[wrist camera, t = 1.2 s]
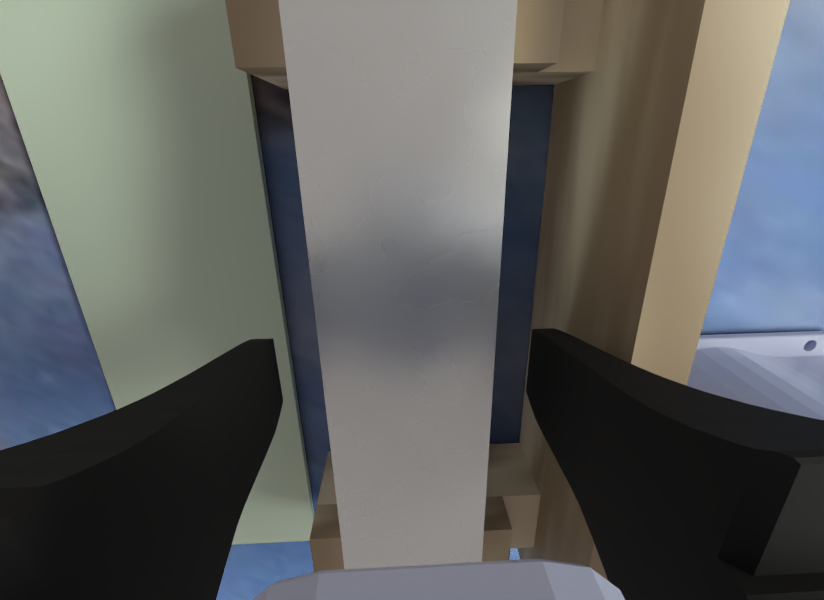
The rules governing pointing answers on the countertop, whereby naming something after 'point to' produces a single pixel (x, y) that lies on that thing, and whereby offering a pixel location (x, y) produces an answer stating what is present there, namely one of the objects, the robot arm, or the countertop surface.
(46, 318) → the countertop surface
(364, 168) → the rail
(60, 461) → the robot arm
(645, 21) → the rail stand
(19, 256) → the countertop surface
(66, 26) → the mat
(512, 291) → the countertop surface
